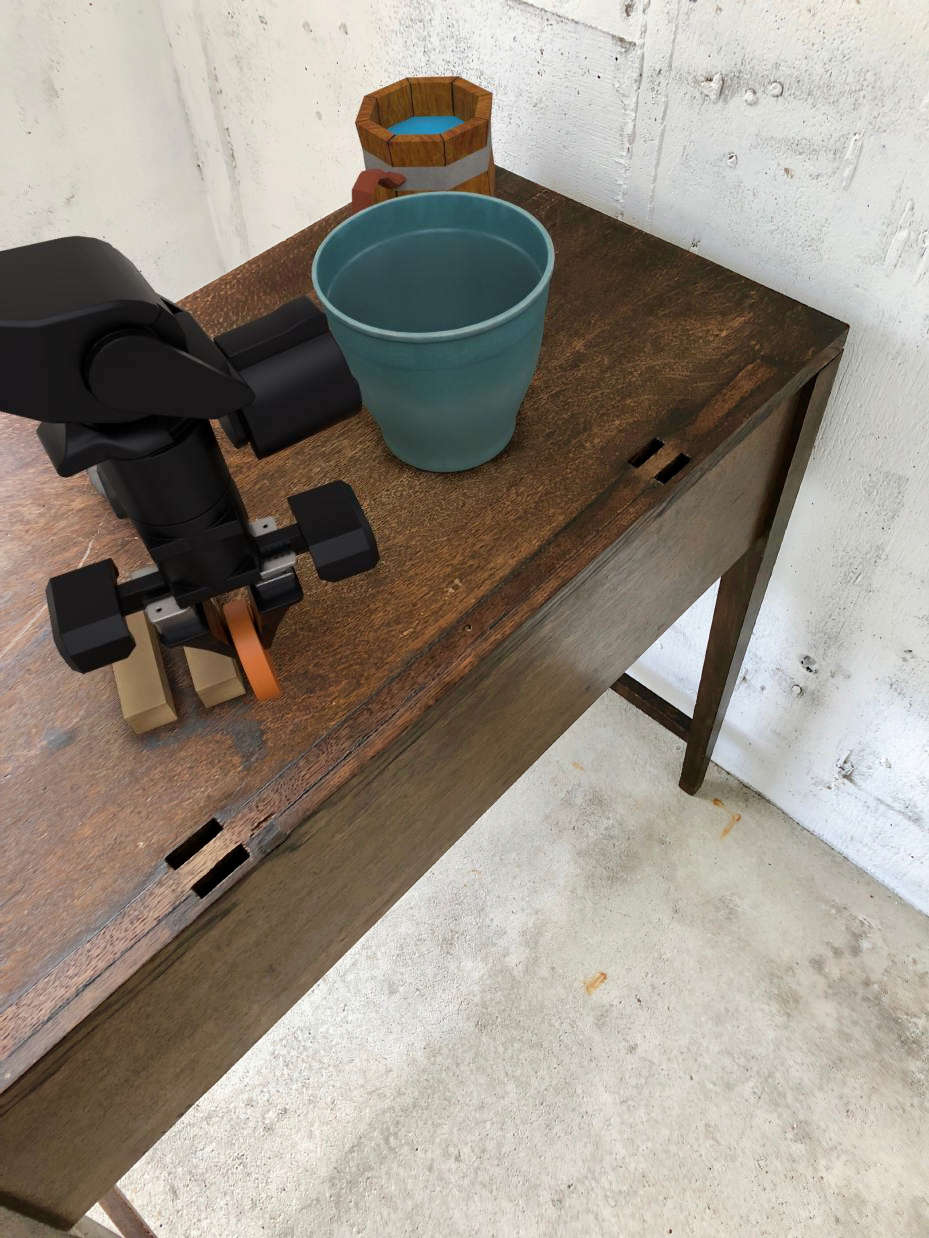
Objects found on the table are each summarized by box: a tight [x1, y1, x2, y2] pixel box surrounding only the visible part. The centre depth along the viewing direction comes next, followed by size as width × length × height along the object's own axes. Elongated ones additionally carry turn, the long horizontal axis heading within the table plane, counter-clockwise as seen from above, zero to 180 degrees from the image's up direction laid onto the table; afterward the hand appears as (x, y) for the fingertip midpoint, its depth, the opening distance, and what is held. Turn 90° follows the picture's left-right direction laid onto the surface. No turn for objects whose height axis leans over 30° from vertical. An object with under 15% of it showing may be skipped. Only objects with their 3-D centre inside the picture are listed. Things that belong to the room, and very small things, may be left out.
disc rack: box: [111, 597, 247, 736], centre depth 65 cm, size 8×10×2 cm
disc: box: [222, 597, 283, 703], centre depth 59 cm, size 2×7×7 cm, turn 23°
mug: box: [351, 75, 496, 216], centre depth 87 cm, size 20×14×15 cm
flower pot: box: [311, 191, 556, 473], centre depth 72 cm, size 18×18×17 cm
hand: (252, 648), depth 59 cm, fingers closed on disc, 1 cm apart
